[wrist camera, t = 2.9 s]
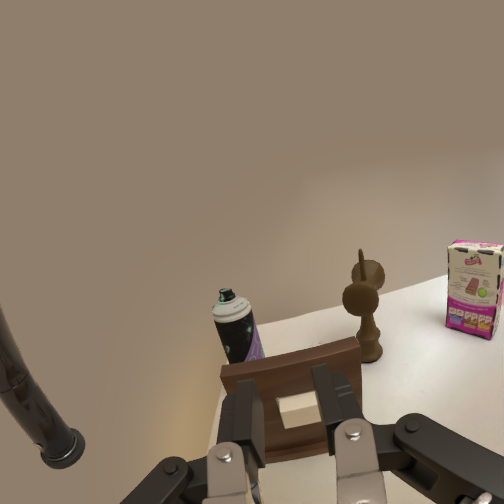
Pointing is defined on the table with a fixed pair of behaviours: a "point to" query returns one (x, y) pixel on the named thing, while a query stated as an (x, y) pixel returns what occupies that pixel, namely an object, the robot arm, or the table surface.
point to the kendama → (365, 304)
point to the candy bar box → (475, 287)
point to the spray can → (237, 328)
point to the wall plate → (294, 392)
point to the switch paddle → (299, 409)
